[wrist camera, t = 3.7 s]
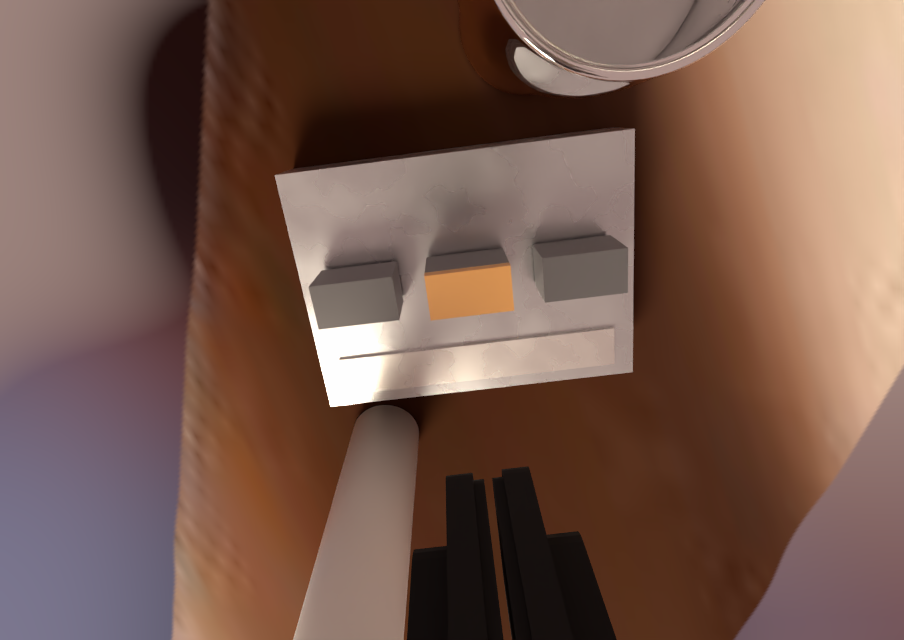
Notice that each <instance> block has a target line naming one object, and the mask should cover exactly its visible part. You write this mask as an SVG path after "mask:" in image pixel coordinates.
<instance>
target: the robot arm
mask: <svg viewBox="0 0 904 640" xmlns="http://www.w3.org/2000/svg"><path fill="white" fill-rule="evenodd" d="M492 480H493V489H494V498H495V507H496V515H497V524H498V533H499V541H500V550H501V559H502V568H503V576H504V585H505V592H506V600H507V607H508V614H509V621H510V629H511V636H512V640H616V637H615V634H614V631H613V628H612V625H611V622H610V619H609V616H608V613H607V610H606V607H605V604H604V601H603V598H602V596H601V593H600V590H599V587H598V584H597V581H596V578H595V575H594V572H593V569H592V566H591V563H590V560H589V557H588V554H587V551H586V549H585V546H584V543H583V540H582V537H581V535H580V533H579V532H578V531H577V532H568V533H559V534H550V535H546V532H545V528H544V524H543V520H542V516H541V512H540V508H539V505H538V501H537V497H536V493H535V489H534V485H533V481H532V477H531V473H530V470H529V467H520V468H511V469H502V477H498V478H492ZM446 521H447V546H443V547H434V548H425V549H416V550H414V552H413V557H412V571H411V586H410V602H409V617H408V633H407V640H503V633H502V625H501V617H500V608H499V600H498V592H497V584H496V575H495V567H494V559H493V551H492V543H491V535H490V526H489V518H488V510H487V502H486V494H485V485H484V479H480V480H473V473H467V474H459V475H450V476H446Z"/></svg>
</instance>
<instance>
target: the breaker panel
mask: <svg viewBox="0 0 904 640" xmlns="http://www.w3.org/2000/svg"><path fill="white" fill-rule="evenodd" d="M634 171H635V129H633V128H619V127H611V128H603V129H596V130H588V131H580V132H572V133H565V134H557V135H549V136H542V137H534V138H526V139H518V140H511V141H503V142H495V143H488V144H480V145H472V146H464V147H457V148H449V149H441V150H434V151H426V152H418V153H410V154H403V155H395V156H387V157H380V158H372V159H364V160H356V161H349V162H341V163H333V164H326V165H318V166H310V167H302V168H295V169H291V170H288V171H285V172H282V173H280V174H277V175H275V179H276V183H277V187H278V191H279V195H280V199H281V204H282V208H283V212H284V216H285V220H286V224H287V228H288V232H289V237H290V241H291V245H292V249H293V253H294V257H295V261H296V265H297V270H298V274H299V278H300V282H301V286H302V290H303V294H304V298H305V303H306V307H307V311H308V315H309V319H310V323H311V327H312V331H313V336H314V340H315V344H316V348H317V352H318V356H319V360H320V364H321V369H322V373H323V377H324V381H325V385H326V389H327V393H328V397H329V402H330V406H331V407H332V406H341V405H349V404H358V403H367V402H376V401H384V400H393V399H402V398H410V397H419V396H428V395H437V394H445V393H454V392H463V391H471V390H480V389H489V388H498V387H506V386H515V385H524V384H532V383H541V382H550V381H559V380H567V379H576V378H585V377H593V376H602V375H611V374H620V373H628V372H633V280H634ZM606 235H611V236H612V237H614V238H615V239H617V240H618V241H619V242H621V243H622V244H623V245H625V246H626V247H628V293H622V294H614V295H606V296H597V297H589V298H580V299H572V300H564V301H555V302H547V303H545V302H544V300H543V298H542V296H541V295H540V293H539V291H538V289H537V287H536V285H535V271H534V256H533V244H541V243H549V242H557V241H565V240H573V239H581V238H589V237H597V236H606ZM500 248H503V250H504V252H505V254H506V256H507V259H508V261H509V263H510V265H511V277H512V289H513V301H514V311H507V312H499V313H490V314H482V315H474V316H465V317H457V318H448V319H440V320H432V321H431V319H430V312H429V306H428V299H427V292H426V285H425V279H424V273H425V265H426V258H427V257H435V256H443V255H451V254H459V253H468V252H476V251H484V250H492V249H500ZM394 261H397V265H398V271H399V277H400V283H401V289H402V295H403V306H402V310H401V315H400V320H396V321H388V322H380V323H371V324H363V325H355V326H346V327H338V328H329V329H321V330H319V329H318V325H317V321H316V317H315V312H314V308H313V304H312V300H311V296H310V291H309V286H310V284H311V283H312V282H313V281H314V279H315V278H316V277H317V275H318V274H319V273H320V272H321V270H329V269H338V268H346V267H354V266H362V265H370V264H378V263H386V262H394Z"/></svg>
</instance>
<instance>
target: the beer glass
mask: <svg viewBox="0 0 904 640" xmlns="http://www.w3.org/2000/svg"><path fill="white" fill-rule="evenodd" d="M457 1H458V5H459V9H460V13H459V31H460V38H461V42H462V46H463V49H464V52H465V54H466V56H467V58H468V60H469V62H470V64H471V65H472V67H473V68H474V70H475V71H476V72H477V74H478V75H479V76H480V77H481V78H482V79H483V80H484V81H485V82H487V83H488V84H489V85H491V86H493V87H494V88H496V89H498V90H500V91H503V92H506V93H510V94H515V95H530V94H538V95H542V96H546V97H553V98H589V97H596V96H601V95H605V94H609V93H613V92H617V91H621V90H624V89H627V88H630V87H633V86H635V85H638V84H640V83H643V82H646V81H648V80H650V79H653V78H656V77H660V76H663V75H667V74H669V73H672V72H675V71H677V70H680V69H682V68H684V67H687V66H689V65H691V64H693V63H695V62H696V61H698V60H700V59H702V58H703V57H705V56H707V55H708V54H710V53H711V52H713V51H714V50H715V49H717V48H718V47H720V46H721V45H722V44H723V43H725V42H726V41H727V40H728V39H730V38H731V37H732V36H733V35H734V34H735V33H736V32H737V31H739V30H740V29H741V28H742V27H743V26H744V25H745V24H746V23H747V22H748V20H749V19H750V18H751V17H752V16H753V15H754V14H755V13H756V11H757V10H758V9H759V8H760V7H761V5H762V4H763V3H764V2H765V0H457Z"/></svg>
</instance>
